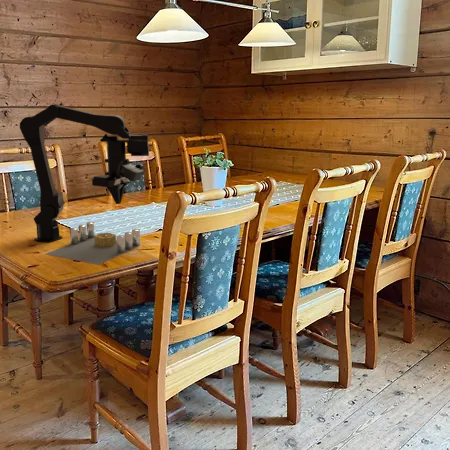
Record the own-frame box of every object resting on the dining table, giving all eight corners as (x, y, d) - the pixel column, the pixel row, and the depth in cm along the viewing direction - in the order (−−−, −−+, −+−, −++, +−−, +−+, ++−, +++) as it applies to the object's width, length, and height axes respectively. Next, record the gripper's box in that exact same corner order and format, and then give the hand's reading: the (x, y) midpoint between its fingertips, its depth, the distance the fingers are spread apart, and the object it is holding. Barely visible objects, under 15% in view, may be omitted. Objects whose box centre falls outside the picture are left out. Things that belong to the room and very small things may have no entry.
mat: (44, 254, 147) (44, 253, 147) (90, 236, 165) (90, 236, 165) (98, 265, 139) (98, 264, 139) (140, 245, 157) (140, 244, 157)
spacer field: (69, 244, 156) (68, 229, 155) (90, 235, 165) (89, 221, 164) (122, 253, 148) (121, 238, 147) (141, 244, 157) (141, 229, 156)
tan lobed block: (92, 246, 154) (91, 237, 153) (100, 240, 160) (99, 231, 160) (110, 248, 153) (110, 238, 152) (118, 242, 160) (118, 233, 159)
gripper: (120, 161, 145) (121, 212, 149) (154, 154, 161) (154, 201, 165) (89, 158, 149) (92, 208, 153) (125, 152, 166) (127, 197, 170)
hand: (118, 203), depth 160 cm, fingers closed
